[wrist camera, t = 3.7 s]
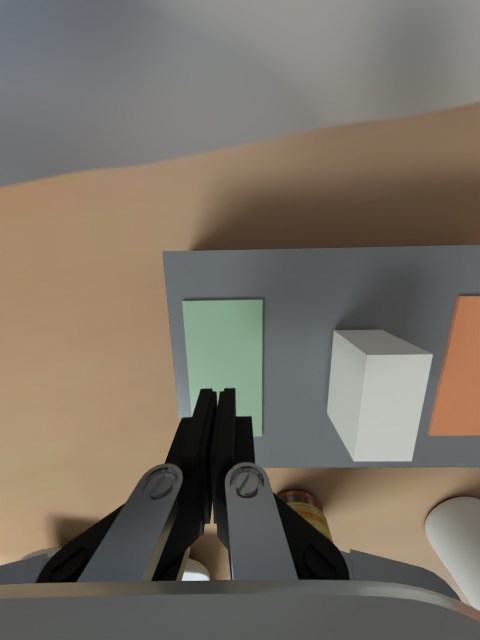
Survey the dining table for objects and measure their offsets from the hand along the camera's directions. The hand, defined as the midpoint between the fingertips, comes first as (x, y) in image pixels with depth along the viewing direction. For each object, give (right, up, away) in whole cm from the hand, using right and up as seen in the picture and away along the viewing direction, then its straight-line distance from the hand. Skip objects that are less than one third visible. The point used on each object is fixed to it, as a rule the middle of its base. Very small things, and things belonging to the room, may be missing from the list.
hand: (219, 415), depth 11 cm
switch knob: (+8, +1, +4) cm, 9 cm away
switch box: (+9, +3, +10) cm, 14 cm away
